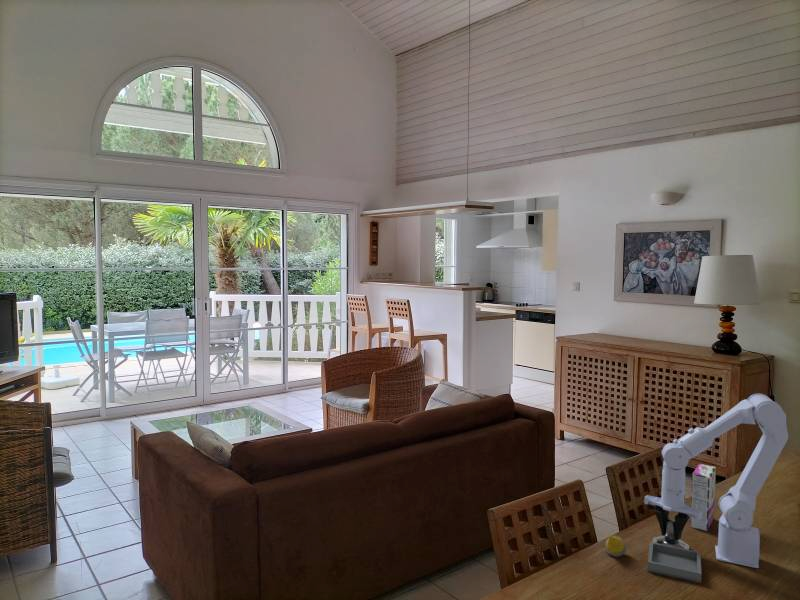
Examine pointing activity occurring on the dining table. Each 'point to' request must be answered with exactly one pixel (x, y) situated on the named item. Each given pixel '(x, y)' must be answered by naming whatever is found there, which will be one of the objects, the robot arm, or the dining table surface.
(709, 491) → the candy bar box
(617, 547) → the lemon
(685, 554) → the tray
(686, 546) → the seat ring
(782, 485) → the dining table surface
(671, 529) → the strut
